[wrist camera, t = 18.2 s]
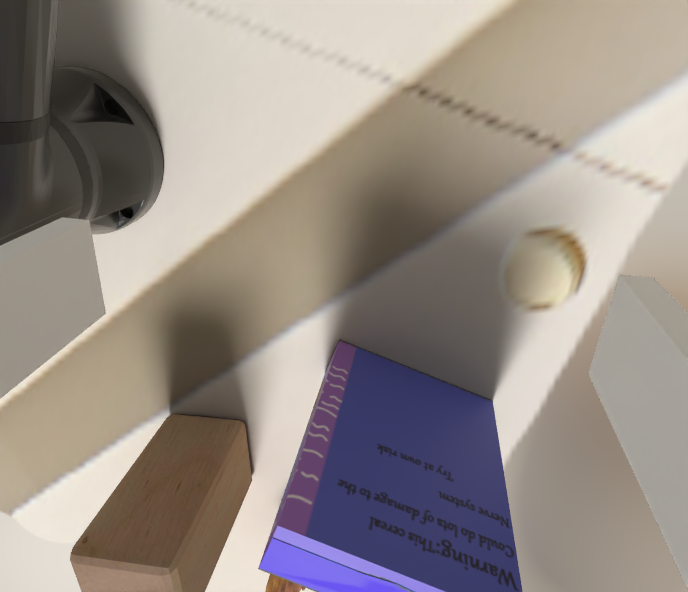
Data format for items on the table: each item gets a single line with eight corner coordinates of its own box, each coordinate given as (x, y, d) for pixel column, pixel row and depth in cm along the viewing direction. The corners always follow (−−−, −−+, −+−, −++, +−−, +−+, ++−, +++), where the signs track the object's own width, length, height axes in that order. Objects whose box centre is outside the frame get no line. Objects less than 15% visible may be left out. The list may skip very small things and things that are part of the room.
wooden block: (168, 409, 63) (62, 554, 45) (247, 417, 61) (169, 569, 43) (181, 472, 67) (88, 626, 49) (255, 480, 65) (187, 642, 48)
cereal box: (325, 373, 57) (257, 571, 35) (339, 339, 54) (276, 528, 33) (472, 432, 57) (493, 664, 36) (492, 400, 55) (527, 627, 33)
